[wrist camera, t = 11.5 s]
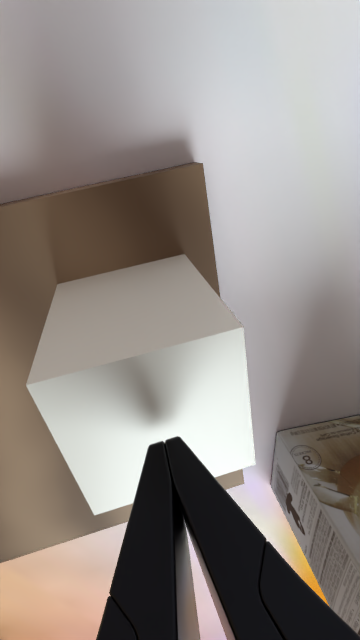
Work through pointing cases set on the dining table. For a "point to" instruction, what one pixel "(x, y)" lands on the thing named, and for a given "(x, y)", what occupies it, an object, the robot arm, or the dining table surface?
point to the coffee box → (324, 505)
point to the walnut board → (32, 310)
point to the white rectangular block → (141, 376)
